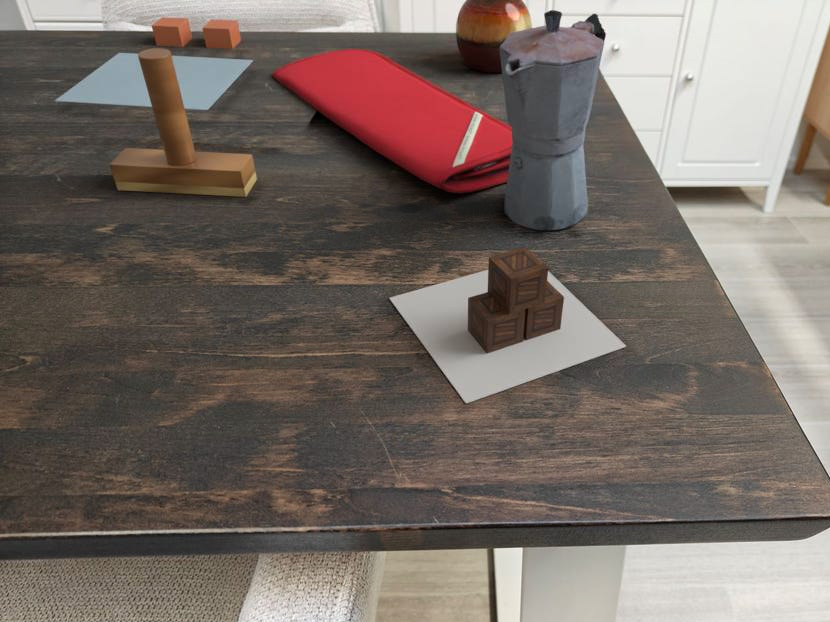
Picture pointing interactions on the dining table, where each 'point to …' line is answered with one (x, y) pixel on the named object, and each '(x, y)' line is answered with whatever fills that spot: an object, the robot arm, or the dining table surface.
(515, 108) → the moka pot
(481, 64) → the vase
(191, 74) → the tray
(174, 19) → the orange cube
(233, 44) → the right orange cube
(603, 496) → the dining table surface
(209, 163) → the brush
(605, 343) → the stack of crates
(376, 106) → the dish drying mat
